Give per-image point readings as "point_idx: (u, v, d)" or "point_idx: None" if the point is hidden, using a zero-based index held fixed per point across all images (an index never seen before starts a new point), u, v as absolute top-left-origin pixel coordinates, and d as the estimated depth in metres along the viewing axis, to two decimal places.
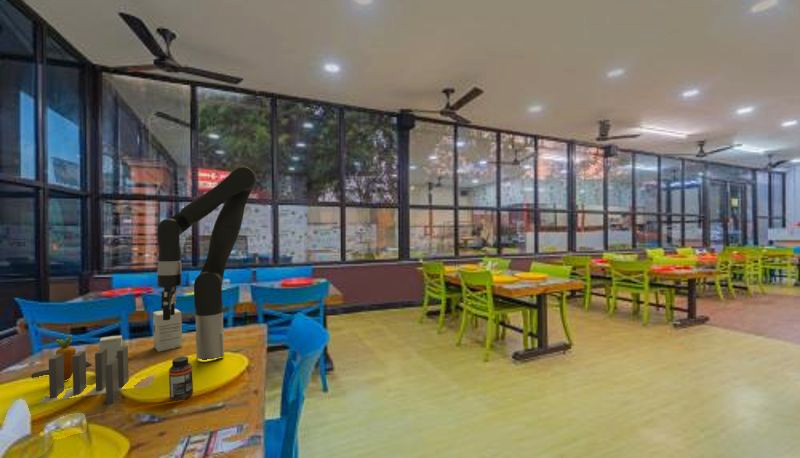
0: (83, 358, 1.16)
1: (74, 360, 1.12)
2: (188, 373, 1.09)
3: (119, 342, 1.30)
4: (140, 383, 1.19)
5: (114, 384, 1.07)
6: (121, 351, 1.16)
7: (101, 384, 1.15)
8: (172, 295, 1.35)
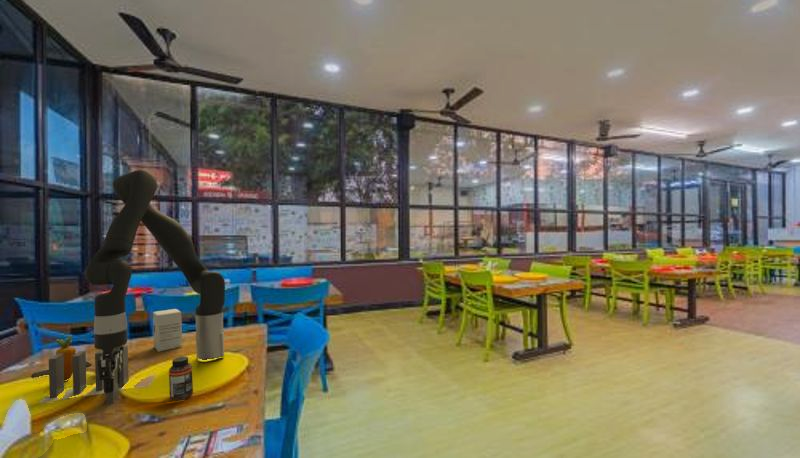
0: (83, 358, 1.16)
1: (74, 360, 1.12)
2: (188, 373, 1.09)
3: None
4: (140, 383, 1.19)
5: (114, 384, 1.07)
6: None
7: (101, 384, 1.15)
8: (114, 359, 1.06)
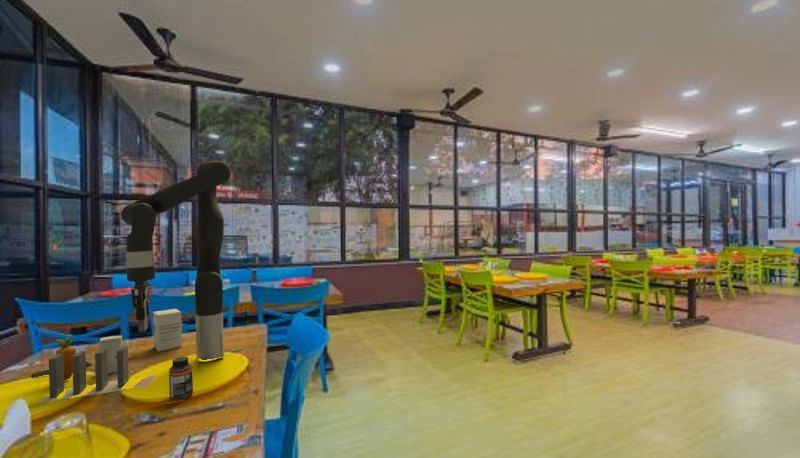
0: (83, 358, 1.16)
1: (74, 360, 1.12)
2: (188, 373, 1.09)
3: (119, 342, 1.30)
4: (140, 383, 1.19)
5: None
6: (121, 351, 1.16)
7: (101, 384, 1.15)
8: (145, 291, 1.19)
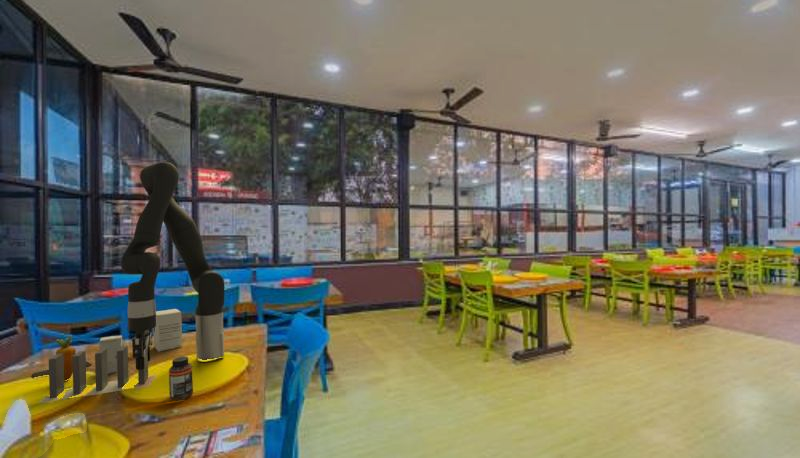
0: (83, 358, 1.16)
1: (74, 360, 1.12)
2: (188, 373, 1.09)
3: (119, 342, 1.30)
4: None
5: (145, 365, 1.20)
6: (121, 351, 1.16)
7: (101, 384, 1.15)
8: (146, 340, 1.19)
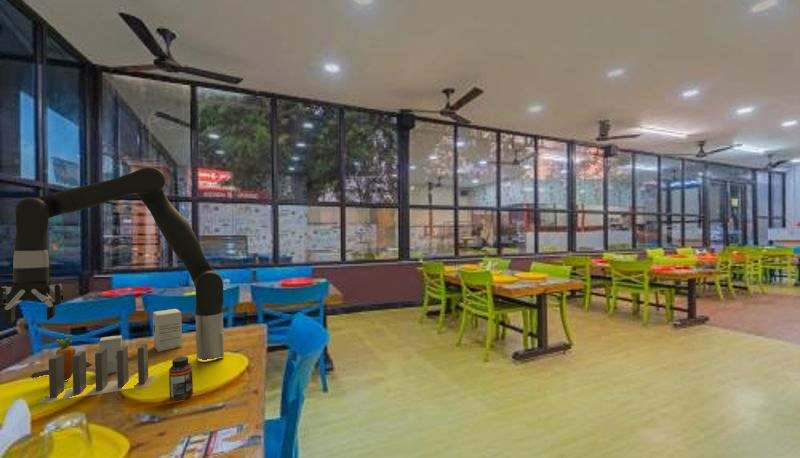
0: (83, 358, 1.16)
1: (74, 360, 1.12)
2: (188, 373, 1.09)
3: (119, 342, 1.30)
4: None
5: (145, 365, 1.20)
6: (121, 351, 1.16)
7: (101, 384, 1.15)
8: None
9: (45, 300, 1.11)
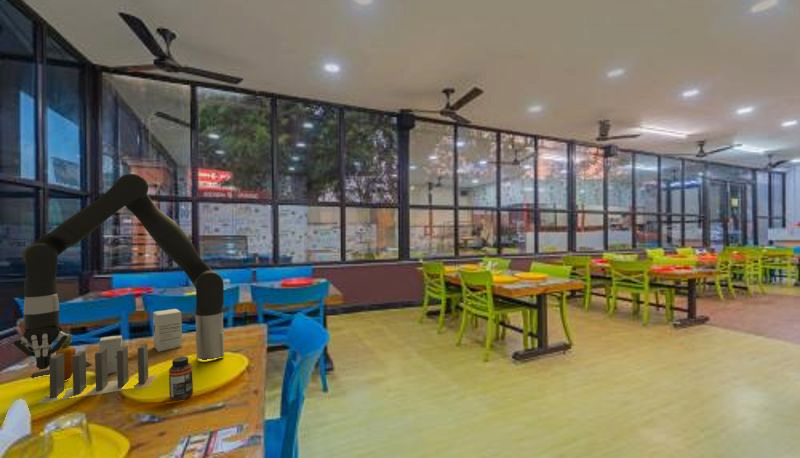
0: (83, 358, 1.16)
1: (74, 360, 1.12)
2: (188, 373, 1.09)
3: (119, 342, 1.30)
4: None
5: (145, 365, 1.20)
6: (121, 351, 1.16)
7: (101, 384, 1.15)
8: None
9: (45, 348, 1.10)
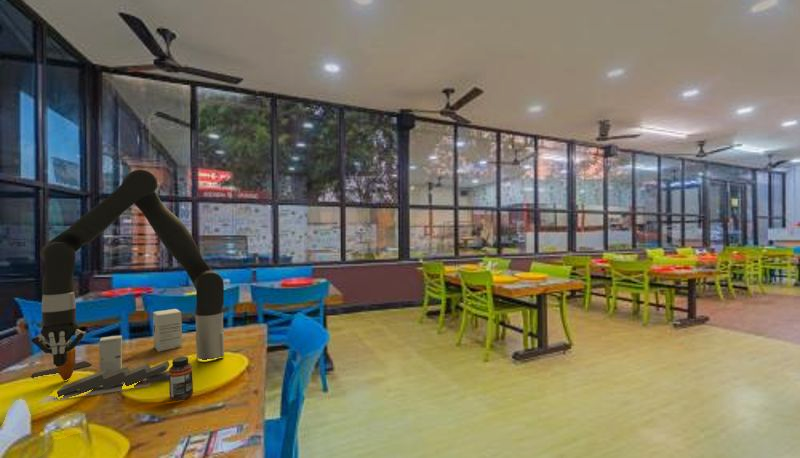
0: None
1: (119, 375, 1.16)
2: (188, 373, 1.09)
3: (119, 342, 1.30)
4: (140, 383, 1.19)
5: None
6: (165, 369, 1.21)
7: (111, 386, 1.16)
8: (50, 338, 1.11)
9: (62, 345, 1.12)
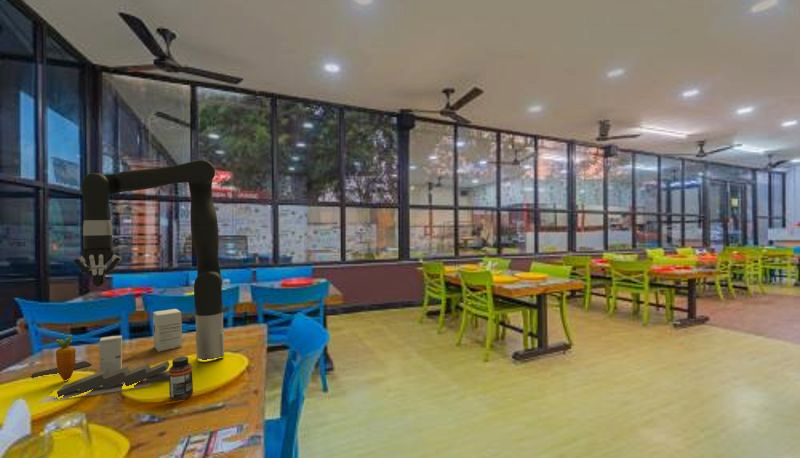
0: None
1: (119, 375, 1.16)
2: (188, 373, 1.09)
3: (119, 342, 1.30)
4: (140, 383, 1.19)
5: None
6: (165, 369, 1.21)
7: (111, 386, 1.16)
8: (90, 260, 1.22)
9: (101, 267, 1.24)
